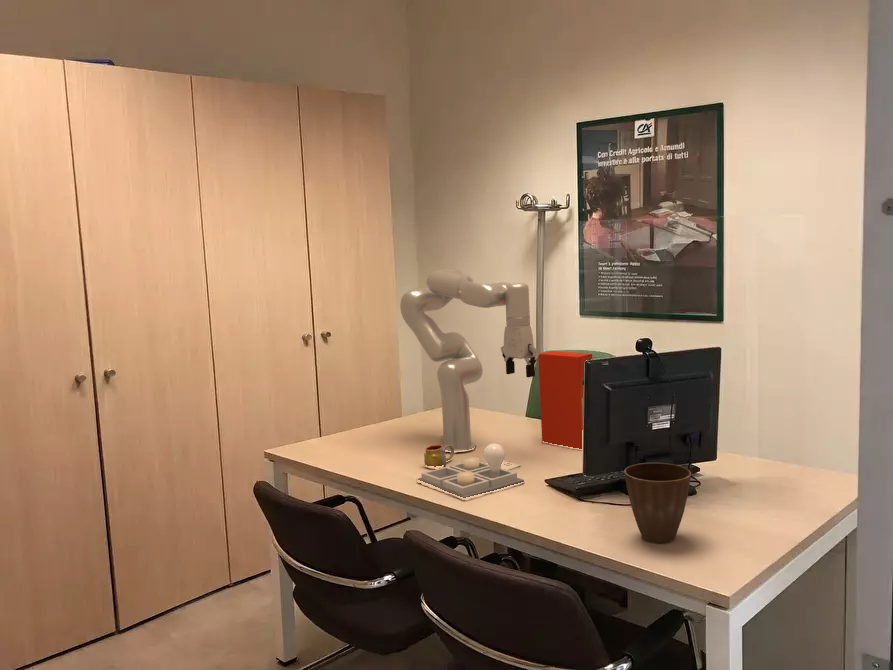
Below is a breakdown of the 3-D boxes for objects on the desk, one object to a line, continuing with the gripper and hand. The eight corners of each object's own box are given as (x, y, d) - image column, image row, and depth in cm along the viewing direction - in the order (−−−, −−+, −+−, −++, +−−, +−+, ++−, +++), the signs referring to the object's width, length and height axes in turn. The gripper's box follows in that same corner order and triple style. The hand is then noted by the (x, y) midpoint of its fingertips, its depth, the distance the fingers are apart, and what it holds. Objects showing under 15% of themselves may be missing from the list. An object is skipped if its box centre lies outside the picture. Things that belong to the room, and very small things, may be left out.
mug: (433, 471, 245) (432, 451, 244) (420, 467, 250) (419, 447, 249) (461, 463, 252) (461, 443, 252) (448, 459, 258) (447, 439, 257)
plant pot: (659, 521, 191) (658, 458, 189) (706, 540, 178) (705, 472, 176) (613, 534, 184) (611, 469, 182) (657, 555, 171) (655, 485, 169)
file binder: (581, 451, 259) (578, 357, 255) (541, 443, 271) (538, 353, 268) (595, 446, 264) (592, 353, 260) (556, 438, 277) (552, 350, 273)
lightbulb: (491, 475, 232) (489, 440, 231) (509, 478, 229) (508, 442, 228) (480, 481, 227) (479, 445, 226) (500, 484, 224) (498, 447, 222)
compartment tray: (416, 482, 233) (415, 466, 233) (474, 467, 246) (473, 451, 245) (464, 501, 214) (463, 483, 213) (524, 483, 227) (523, 466, 226)
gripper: (491, 322, 250) (494, 374, 252) (527, 324, 236) (529, 379, 238) (509, 319, 254) (511, 371, 256) (545, 322, 241) (547, 376, 242)
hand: (520, 375), depth 247 cm, fingers open, 9 cm apart
